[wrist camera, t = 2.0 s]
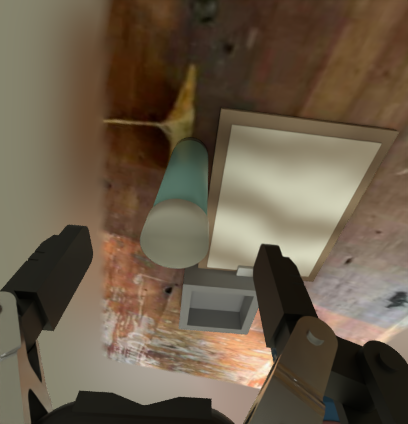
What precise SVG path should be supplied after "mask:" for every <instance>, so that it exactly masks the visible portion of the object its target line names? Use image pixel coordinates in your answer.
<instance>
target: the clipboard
mask: <svg viewBox="0 0 408 424" xmlns="http://www.w3.org/2000/svg"><path fill="white" fill-rule="evenodd" d="M398 133H399V131H397V130H394V129H387V128H379V127H371V126H363V125H355V124H348V123H340V122H332V121H324V120H316V119H309V118H301V117H293V116H285V115H277V114H270V113H262V112H254V111H246V110H238V109H231V108H223V107H221V111H220V118H219V125H218V132H217V139H216V145H215V152H214V159H213V166H212V173H211V180H210V187H209V194H208V200H207V218H208V221H209V249H208V252H207V254H206V256H205V257H204V258H203V259H202V260H201V261H200V262H199V263H198V268H204V269H215V270H225V271H236V275H237V276H247V277H253V267H254V263H255V260H256V257H257V254H258V251H259V248H260V245H261V244H273V245H278V246H279V247H280V250H281V252H282V255H283V257H289V258H290V259H291V260H292V261H293V262H294V263H295V265H296V266H297V268H298V270H299V273H300V275H301V276H300V277H301V278H302V280H303V281H311V282H313V281H314V279H315V277H316V275H317V274H318V272H319V270H320V268H321V267H322V265H323V263H324V261H325V260H326V258H327V256H328V255H329V253H330V251H331V249H332V248H333V246H334V244H335V242H336V241H337V239H338V237H339V235H340V234H341V232H342V230H343V229H344V227H345V225H346V223H347V222H348V220H349V218H350V216H351V215H352V213H353V211H354V209H355V208H356V206H357V204H358V203H359V201H360V199H361V197H362V196H363V194H364V192H365V190H366V189H367V187H368V185H369V184H370V182H371V180H372V178H373V177H374V175H375V173H376V171H377V170H378V168H379V166H380V164H381V163H382V161H383V159H384V158H385V156H386V154H387V152H388V151H389V149H390V147H391V145H392V144H393V142H394V140H395V138H396V137H397V135H398Z"/></svg>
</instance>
